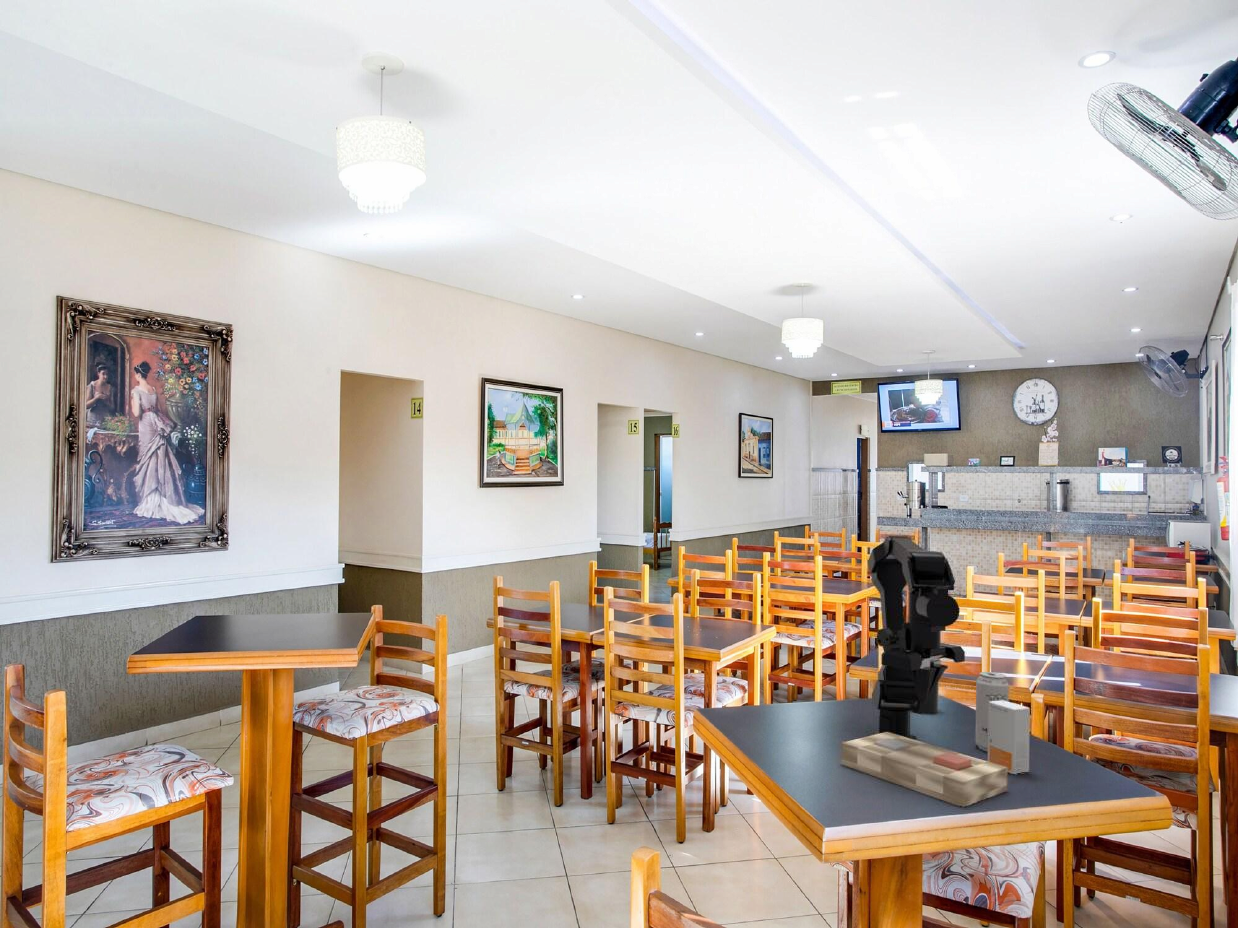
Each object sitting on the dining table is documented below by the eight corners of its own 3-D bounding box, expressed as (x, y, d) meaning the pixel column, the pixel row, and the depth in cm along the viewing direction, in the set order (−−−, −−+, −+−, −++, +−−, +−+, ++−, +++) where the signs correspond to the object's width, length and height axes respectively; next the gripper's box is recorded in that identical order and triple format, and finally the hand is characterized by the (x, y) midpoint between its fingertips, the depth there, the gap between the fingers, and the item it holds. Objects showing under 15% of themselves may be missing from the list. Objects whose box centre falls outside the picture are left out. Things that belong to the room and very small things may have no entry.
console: (886, 752, 155) (886, 731, 155) (1007, 790, 136) (1007, 767, 136) (841, 764, 147) (841, 742, 147) (962, 807, 127) (963, 782, 128)
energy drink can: (984, 753, 156) (985, 677, 157) (969, 744, 162) (971, 670, 163) (1014, 754, 156) (1015, 678, 157) (998, 745, 162) (999, 671, 163)
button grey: (888, 756, 149) (889, 737, 149) (909, 763, 146) (909, 744, 146) (874, 760, 147) (874, 741, 147) (895, 767, 143) (895, 747, 143)
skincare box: (986, 764, 150) (987, 701, 150) (1002, 762, 151) (1003, 699, 152) (1013, 775, 144) (1014, 709, 145) (1030, 772, 146) (1030, 707, 146)
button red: (947, 772, 140) (947, 752, 140) (971, 779, 136) (971, 759, 136) (933, 776, 137) (933, 756, 137) (957, 784, 133) (957, 763, 134)
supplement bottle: (910, 713, 186) (911, 661, 186) (905, 705, 192) (905, 656, 193) (941, 715, 184) (942, 663, 185) (934, 708, 191) (935, 658, 192)
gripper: (914, 610, 160) (913, 687, 159) (857, 615, 149) (855, 698, 148) (966, 617, 151) (965, 700, 150) (910, 624, 140) (908, 712, 139)
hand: (923, 702), depth 147 cm, fingers closed
